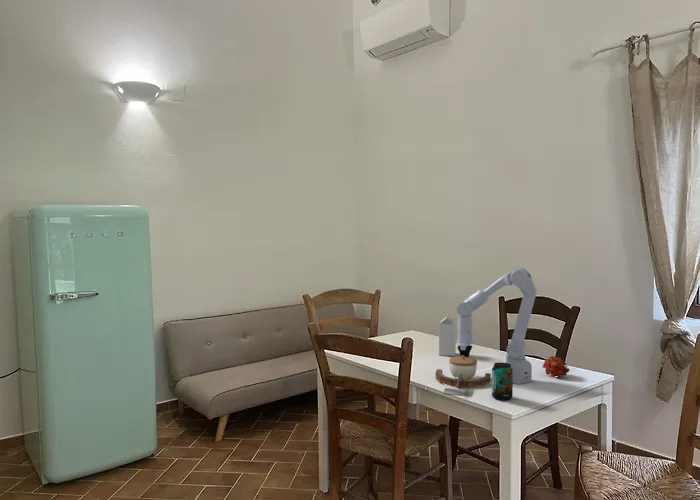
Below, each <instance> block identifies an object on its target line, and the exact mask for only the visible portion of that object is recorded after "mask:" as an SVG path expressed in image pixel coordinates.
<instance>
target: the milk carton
mask: <svg viewBox="0 0 700 500" xmlns="http://www.w3.org/2000/svg"><path fill="white" fill-rule="evenodd" d="M456 323H457V322H456V321H455V318H454V317H453V316H450V315H449V313H447V314H446V315H445V317H444V318H443V319H441V321H440V322H439V324H438V356H444V357H445V356H446V357H456V356H455V355H456V352H457V351H456V348H457V347H456V345H457V343H455V340H457V338H456V337H457V332H456V331H457V330H456V329H457V328H456V327H457V326H456V325H457V324H456Z"/></svg>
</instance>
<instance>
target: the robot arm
mask: <svg viewBox="0 0 700 500" xmlns="http://www.w3.org/2000/svg"><path fill="white" fill-rule="evenodd" d="M512 285H515V286H516V287H517V288H518V289H519V290H520V292H521V293H522V298H521V299H522V300H521V303H520V307H519V310H518V315H517V319H516V321H515V325H514V329H513V333H512V337H511V339H510V340H509V342H508V345H507V346H506V355H505V356H506V358H505V363H508V364H510V365H511V368H512V370H513V383H514V384H516V385H522V384H526V383H533V381H534V379H532V373H533V372H532V371H533V370H532V363H531V362H530V361H529V360H527V359H526V355H525V354H524V351H525V348H526V344H525V339H526V336H527V335H526V333H527V331H528V327H529V323H530V319H531V315H532V312H533V307H534V304H535V300H536V297H537V296H536V295H537V288H536V286H535V283H534V281H533V277H532V275H531V273H530V272H529V271H528V270H527V269H526V268H524V267H516V268H515V269H513V270H511V271H510V272H507V273H506V274H504V275H502V276H501V277H499V278H498V279H496V281H494V282H493V283H492V284H490V285H489V286H488V287H487V288H485V289H478V290H473V293H472V294H471V295H470V296H468V297H465V298H464V299H463V301H461V302H460V303H459V304H458V305H457V307H456V311H457V313H458V314H457V316H458V317H457V318H458V319H457V339H456V340H455V343H456V344H458V346H457V350H458V352H459V356H462V355H464V357H470V353H471V351H472V349H473V312H474V311H476V310H478V309H479V308H480V307H482V306H484V305H485V304H486V303H487V302H489V297H490V296H492V295H493V294H494V293H496V292H498V290H500V289H502V288H503V287H505V286H507V287H508V286H512Z"/></svg>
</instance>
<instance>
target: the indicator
mask: <svg viewBox="0 0 700 500" xmlns="http://www.w3.org/2000/svg"><path fill="white" fill-rule="evenodd" d="M456 382H457V384H456V388H458V385H459V383H463V377H462V374H460V376H457V377H456Z"/></svg>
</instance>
